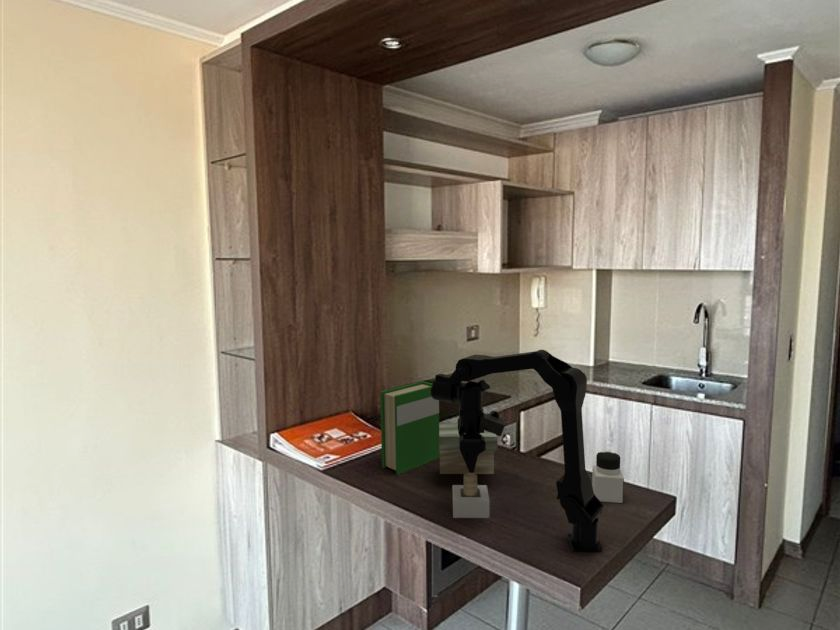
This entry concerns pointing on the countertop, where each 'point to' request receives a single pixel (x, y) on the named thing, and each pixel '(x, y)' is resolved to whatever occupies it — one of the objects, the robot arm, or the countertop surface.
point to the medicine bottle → (608, 477)
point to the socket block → (470, 503)
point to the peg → (470, 485)
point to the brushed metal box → (453, 458)
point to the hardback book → (409, 426)
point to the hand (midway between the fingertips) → (470, 465)
